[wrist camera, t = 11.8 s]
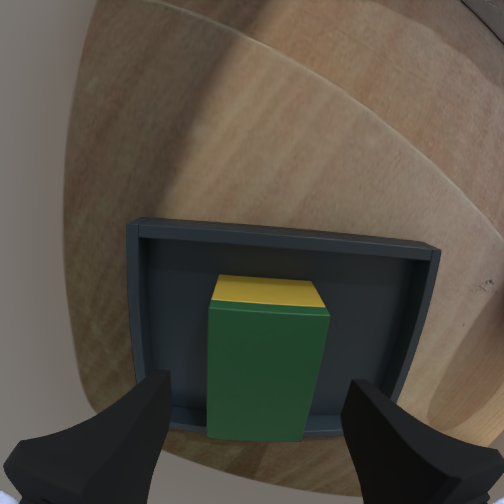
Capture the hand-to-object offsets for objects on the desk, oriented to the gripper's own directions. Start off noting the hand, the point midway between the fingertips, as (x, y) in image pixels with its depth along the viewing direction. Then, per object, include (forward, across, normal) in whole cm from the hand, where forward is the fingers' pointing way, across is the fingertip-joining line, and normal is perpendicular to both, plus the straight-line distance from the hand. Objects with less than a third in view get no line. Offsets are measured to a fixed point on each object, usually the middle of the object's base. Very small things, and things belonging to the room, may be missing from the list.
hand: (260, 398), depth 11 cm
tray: (+5, -1, 0) cm, 5 cm away
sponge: (+5, 0, 0) cm, 5 cm away
